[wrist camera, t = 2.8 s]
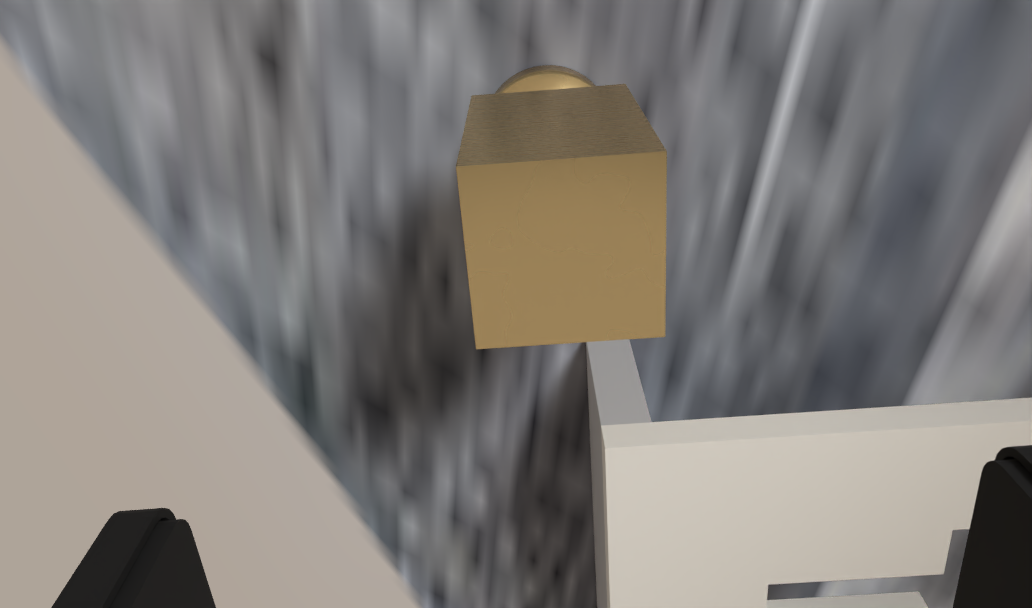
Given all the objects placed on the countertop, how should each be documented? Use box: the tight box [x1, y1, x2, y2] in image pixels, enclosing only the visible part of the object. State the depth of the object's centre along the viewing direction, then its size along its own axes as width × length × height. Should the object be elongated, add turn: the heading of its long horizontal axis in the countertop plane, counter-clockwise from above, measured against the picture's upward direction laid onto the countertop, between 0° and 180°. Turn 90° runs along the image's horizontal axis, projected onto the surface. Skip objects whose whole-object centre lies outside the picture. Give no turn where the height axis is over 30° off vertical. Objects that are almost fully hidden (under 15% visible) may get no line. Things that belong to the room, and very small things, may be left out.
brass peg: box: [456, 65, 667, 349], centre depth 23 cm, size 4×4×11 cm
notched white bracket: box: [586, 339, 1032, 608], centre depth 31 cm, size 20×14×7 cm
